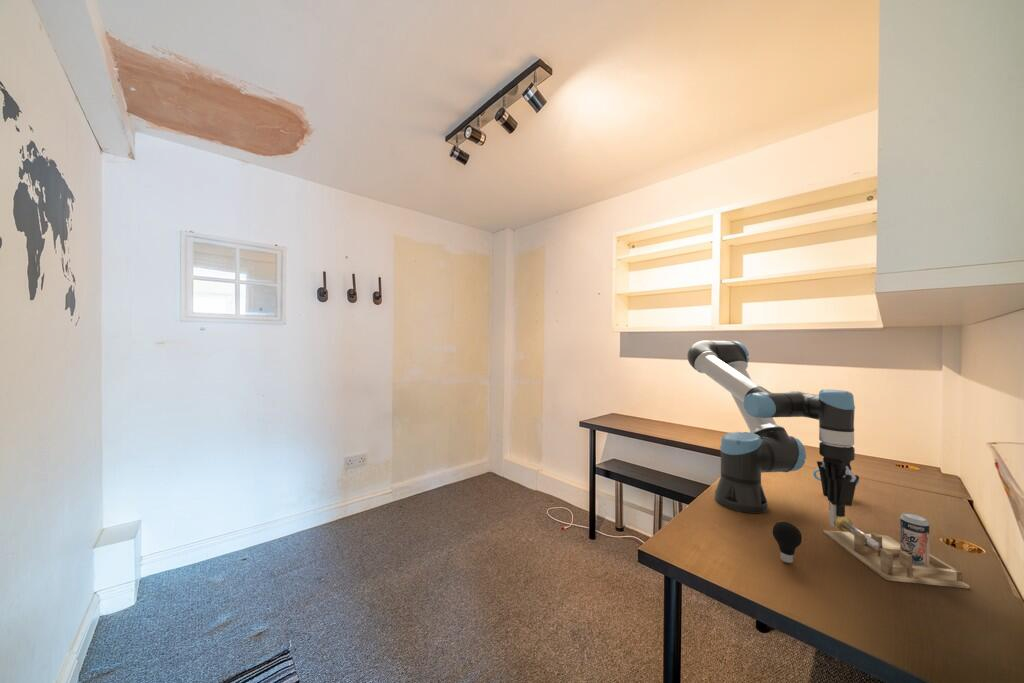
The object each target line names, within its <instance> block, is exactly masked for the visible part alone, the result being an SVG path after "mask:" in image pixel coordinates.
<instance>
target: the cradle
mask: <svg viewBox="0 0 1024 683" xmlns="http://www.w3.org/2000/svg"><path fill="white" fill-rule="evenodd" d="M822 533H823V534H824V535H826V536H827V537H828V538H830V539H831V540H833V541H834V542H835V543H837V544H838V545H839V546H840V547H842V548H843V549H845V550H846V551H847V552H848V553H849V554H851V555H853V556H854V557H855V558H856V559H858V560H859V561H860V562H862V563H863V564H864V565H866V566H867V567H869V569H871V570H872V571H873V572H875V573H876V574H877V575H879V576H880V577H881V578H883V579H884V580H886V581H891V582H901V583H910V584H911V583H913V584H921V585H922V584H923V585H931V586H940V587H941V586H942V587H950V588H960V589H970V585H969V584H967V583H965V582H964V581H963V572H962V571H960V570H958V569H957V568H955V567H953V566H952V565H950V564H948V563H947V562H945V561H943V560H942V559H939V558H938V557H937V556H935V555H934V554H931V553H930V552H929V567H922V566H912V556H911V555H910V554H908V553H906V552H905V551H900V542H898V541H897V540H895V539H894V538H892V537H891V536H888V535H884V534H878V533H877V532H870V533H866V534H867V535H868V536H870V537H871V538H873V539H874V540H876V541H877V542H879V543H880V544H882V549H881V550H880V551H877V550H875V549H873V548H872V547H871V546H869V545H868V544H866V543H865V536H864V535H863V534H861V533H860V532H857V531H854V535H853V534H851V533H850V532H849V531H841V530H839V531H837V530H829V529H828V530H826V529H825V530H824V529H823V530H822Z"/></svg>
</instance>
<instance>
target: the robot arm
mask: <svg viewBox="0 0 1024 683" xmlns="http://www.w3.org/2000/svg"><path fill="white" fill-rule="evenodd" d="M689 347H690V348H689V349H688V351H687V354H686V356H687V362H688V363H689V365H690V366H691V367H692V368H693V369H694V370H695V371H697V372H698V373H700V374H705V375H706V376H707V377H709V378H710V379H712V380H713V381H714V382H716V384H718V385H720V386H721V387H722V388H724V389H725V390H727V391H728V392H729V393H730V395H731V397H732V398H733V400H734V403H735V404H736V406H737V408H738V410H739V412H740V414H741V416H742V418H743V420H744V422H745V424H746V426H747V428H748V431H749V432H748V431H742V432H741V431H734V432H733V431H732V432H728V433H725V434H724V435H723V436H721V439H720V446H719V447H720V449H719V450H720V478H719V481H718V483H717V485H716V488H715V490H714V499H715V501H716V502H717V503H718V504H719V505H722V506H723V507H725V508H728V509H730V510H734V511H738V512H741V513H747V514H762V513H765V512H767V511H768V504H769V503H768V499H767V497H766V494H765V491H764V488H763V485H762V473H789V472H796V471H798V470H800V469H801V468H802V467H803V466H804V465H805V463H806V459H807V453H806V452H807V451H806V449H805V446H804V444H803V443H802V441H801V440H800V439H798V438H796V437H795V436H792V435H789V434H788V432H787V431H786V429H785V427H784V426H781V425H778V424H777V423H776V421H775V419H774V418H809V419H815V420H817V421H818V425H819V426H818V440H819V441H820V442H819V445H818V446H819V451H818V453H819V455H820V456H821V457H822V458H823V459H822V461H820V460H818V461H816V464H817V467H818V469H819V471H818V472H819V476H820V477H819V478H820V479H821V490H822V495H823V497H826V498H827V500H828V502H829V506H828V508H829V525H830V526H832V527H833V528H836V527H835V525H834V519H835V517H837V516H840V515H842V516H845V517H846V507H852V506H853V505H852V504H853V500H854V496H855V491H856V487H857V485H856V483H857V481H858V480H859V481H860V476H859V475H857V474H854V473H853V472H852V466H851V462H852V461H855V459H856V458H855V457H856V455H855V454H856V453H855V447H854V445H855V409H856V406H855V399H854V394H853V393H852V392H850V391H847V390H843V389H842V390H841V389H840V390H839V389H820V390H819V392H818V394H814V393H808V392H803V391H791V390H789V391H785V392H771V391H769V390H768V389H766V388H765V387H763V386H761V385H760V384H758V383H757V382H756V381H754V380H752V378H751V376H750V375H749V373H748V371H747V369H748V367H749V361H750V357H749V354H750V353H749V351H748V349H747V347H746V346H745V345H744V344H743V343H741V342H740V341H736V340H730V339H729V340H699V341H697V342H695V343H693V344H692V345H691V346H689Z"/></svg>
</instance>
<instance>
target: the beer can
mask: <svg viewBox="0 0 1024 683" xmlns="http://www.w3.org/2000/svg"><path fill="white" fill-rule="evenodd" d="M899 518H900V519H899V520H900V521H899V522H900V524H899V528H900V532H899V533H900V534H899V535H900V536H899V540H900V541H899V543H900V551H905V552H906V553H908V554H910V555H911V556H912V566H922V567H929V553H930V525H931V524H930V523H929V522H928V519H927V518H925V517H923V515H922V516H921V515H919V514H915V513H911V512H909V513H908V512H902V514H901V515H900V516H899Z"/></svg>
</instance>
